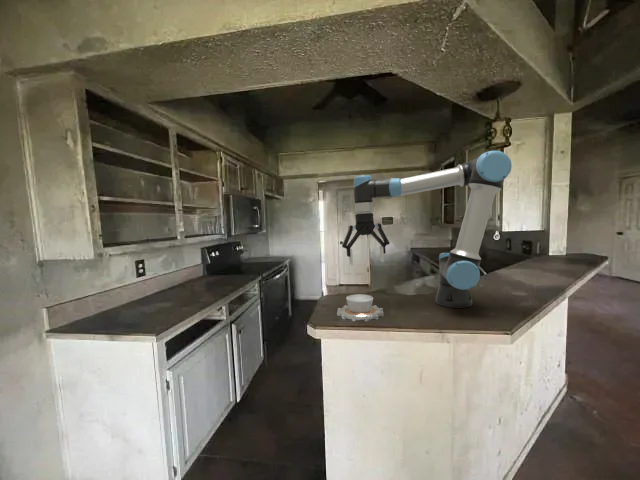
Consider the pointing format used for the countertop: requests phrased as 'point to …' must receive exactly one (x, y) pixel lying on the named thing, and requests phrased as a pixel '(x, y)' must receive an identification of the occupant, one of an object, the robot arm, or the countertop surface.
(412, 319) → the countertop surface
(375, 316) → the plate
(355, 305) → the ramekin
